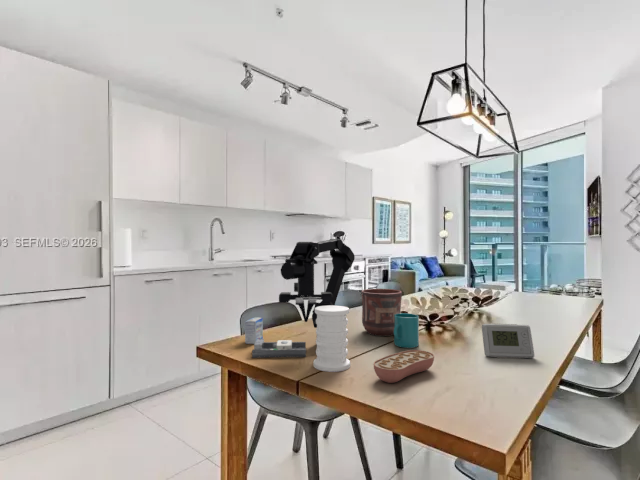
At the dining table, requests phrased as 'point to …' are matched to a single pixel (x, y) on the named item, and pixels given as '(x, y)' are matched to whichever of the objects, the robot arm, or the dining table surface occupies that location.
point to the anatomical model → (402, 365)
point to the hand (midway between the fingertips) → (305, 321)
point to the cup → (406, 330)
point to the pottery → (380, 310)
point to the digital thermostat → (507, 341)
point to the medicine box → (253, 330)
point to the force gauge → (283, 344)
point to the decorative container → (331, 338)
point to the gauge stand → (277, 350)
